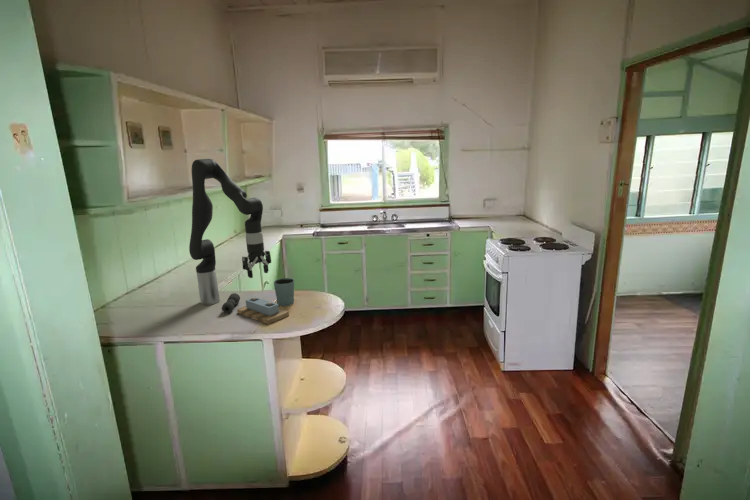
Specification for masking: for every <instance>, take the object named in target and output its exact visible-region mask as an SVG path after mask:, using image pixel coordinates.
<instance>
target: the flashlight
mask: <svg viewBox="0 0 750 500" xmlns="http://www.w3.org/2000/svg"><path fill="white" fill-rule="evenodd" d="M240 301H241V296H240V294H239V293H237V292H232V293H231V294H230V295H229V296H228V298H227V300H226V302H224V303H223V305H222V307H221V310H222V312H223V313H224V314H230V313H232V312H233V311H234V308H235V306H236V305H238V303H239V302H240Z"/></svg>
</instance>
